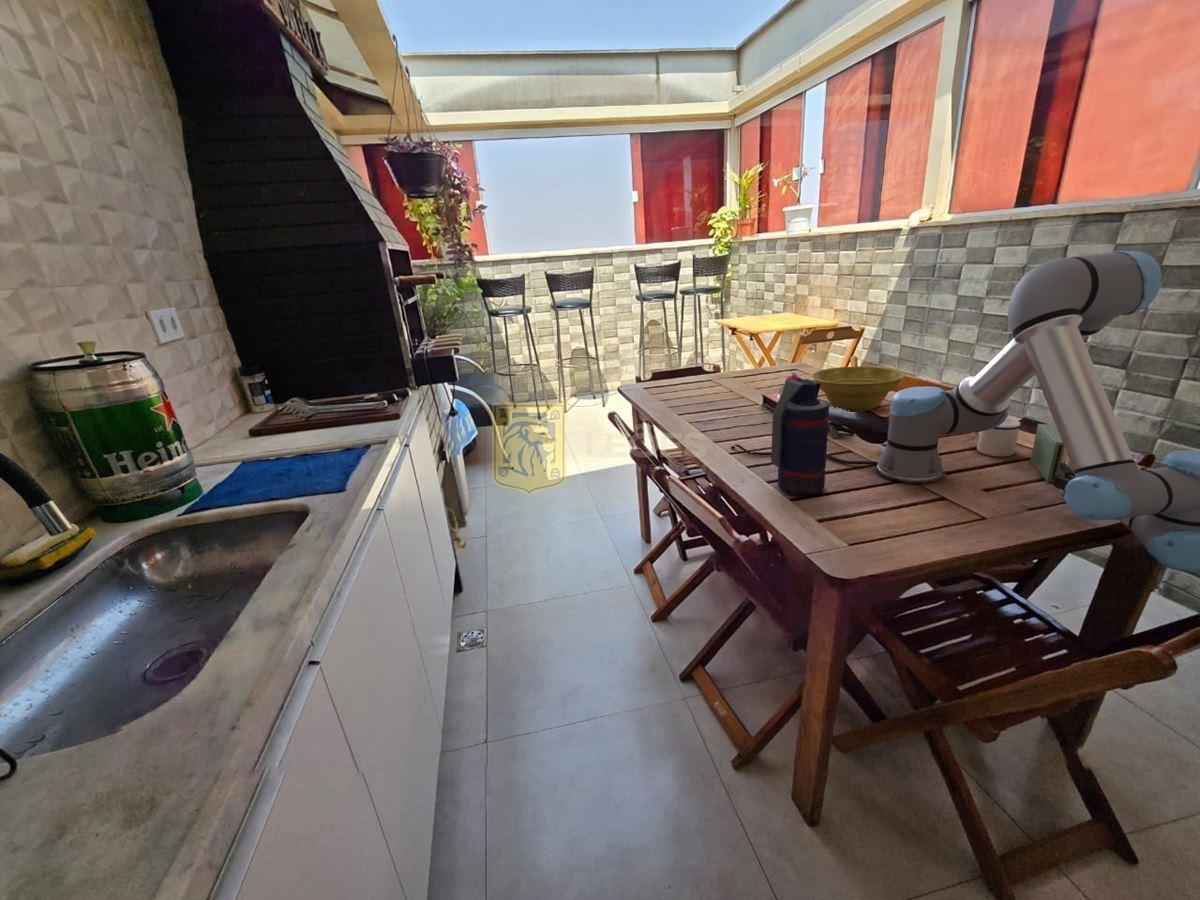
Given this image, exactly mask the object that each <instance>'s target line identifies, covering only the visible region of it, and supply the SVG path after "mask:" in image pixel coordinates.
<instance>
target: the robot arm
mask: <svg viewBox="0 0 1200 900" xmlns="http://www.w3.org/2000/svg"><path fill="white" fill-rule="evenodd" d="M1161 279H1162V271H1161V268H1160V265H1159V263H1158V262H1157V261H1156V260H1155V259H1154V258H1153V256H1151V255H1149V254H1148V253H1145V252H1143V251H1138V250H1126V251H1125V250H1114V251H1111V252H1110V251H1109V252H1103V253H1102V252H1101V253H1094V254H1087V255H1079V256H1069V257H1058V258H1052V259H1050V260H1047V261H1045V262H1043V263H1040V264H1038V265H1036V266H1034V267H1033V268H1032V269H1030V270H1029V271H1028V272H1026V273H1025V275H1024V276H1022V278H1020V279H1019V281H1018V282H1017V284H1016V285H1015V287H1014V289H1013V291H1012V293H1011V295H1010V299H1009V304H1008V311H1007V314H1008V315H1007V316H1008V324H1009V328H1010V331H1011V334H1012V337H1013V338H1012V340H1011V341H1009V343H1007V344H1006V345H1005V346H1004V347H1003V348H1002V349H1001V350H1000V351H999V352H998V353H997V354H996V356H995V357H993V358H992V360H990V362H988V363H987V364H986V365H985V366H984V367H983V368H982V369H981V371H979V372H978V373H977V374H975V375H969V376H967V377H965V378H964V379H963V380H961V382H959V383H958V385H956V387H955V388H953V389H950V390H949V389H948V390H944V389H943V388H941V387H939V386H930V385H924V386H912V387H907V388H904V389H901V390H899V391H897V392H896V393H895V394H894V395H893V396H892V398H891V403H890V407H889V417H888V418H889V419H888V429H887V439H886V446H885V447H884V450H883V451H882V452H881V453H882V454H881V456H879V459H878V461H874V460H847V459H842V458H838V457H836V456H834V455H830V454H828V453H826V459H830V460H833V461H835V462H838V463H841V464H846V465H869V466H871V465H872V466H876V472H877V473H878V474H879V475H880V476H881V477H884V478H885V479H887V480H891V481H894V482H897V483H898V482H899V483H904V484H914V485H915V484H916V485H917V484H920V485H921V484H922V485H923V484H931V483H935V482H937V481H939V480H940V479H942V476H943V466H942V461H943V458H942V457H940V454H939V450H938V447H939V439H940V436H948V435H954V434H964V433H972V432H977V433H979V432H981V431H986V430H989V429H993V428H995V427H997V426H999V425H1000V424H1002V423H1003V422H1004V421H1005V419H1006V418H1007V417H1009V412H1008V411H1010V409H1011V396H1012V395H1013V394H1015V393H1016V392H1017V391H1018V390H1020V389H1021V388H1022V387H1023V386H1024V385H1025V384H1027V383H1028V382H1029V381H1030V380H1031V379H1032V378H1033V377H1035V376H1036V378H1037V381H1038V383H1039V386H1040V389H1041V391H1042V394H1043V396H1044V399H1045V401H1046V404H1047V406H1048V409H1049V411H1050V414H1051V416H1052V419H1053V421H1054V425H1056V427H1057V429H1058V432H1059V434H1060V437H1061V439H1062V442H1063V444H1064V447H1065V449H1066V452H1067V454H1068V457H1069V460H1070V462H1071V465H1072V467H1073V470H1074V472H1073V471H1072V470H1071V469H1070V468H1069V467H1068V466H1067V465H1066V464H1065V463H1060V467H1059V471H1058V475H1055V476H1054V480H1053V482H1052V484H1051V485H1052V486H1053V487H1055V488H1057V489H1058V490H1060V489H1061V490H1063V491H1065V492H1064V493H1065V494H1064V500H1065V503H1066V505H1067V507H1068V508H1069V509H1070V510H1071V511H1072V512H1073V513H1074V514H1075V515H1077V516H1078V517H1080V518H1081V519H1085V520H1091V521H1102V520H1113V521H1117V520H1118V521H1119V522H1120V523H1121V524H1122V525H1124V526H1125V528H1126V529H1127V530H1129V532H1130V533H1131V534H1132V535H1133V536H1134V537H1135V538H1136V539H1137V540H1138V541H1139V542H1140V544H1141V545H1142V546H1143V547H1144V548H1145V550H1146V551H1147V553H1148V555H1150V556H1151V557H1153V558H1154V560H1157V561H1158V562H1159V563H1160V564H1161V565H1162V566H1163V567H1166V568H1168V569H1171V570H1173V571H1177V572H1183V573H1193V572H1194V573H1195V572H1200V450H1189V449H1188V450H1187V449H1182V450H1172V451H1170V452H1168V453H1167V454H1165V456H1164V458H1163V459H1162V461H1161V462H1160V467H1156V468H1147V467H1140V469H1139V467H1138V466H1137V465H1138V464H1137V465H1136V463H1135V461H1134V459H1135V458H1134V457H1133V455H1132V453H1131V450H1130V448H1129V446H1128V443H1127V441H1126V438H1125V435H1124V433H1123V430H1122V429H1121V426H1120V424H1119V422H1118V419H1117V417H1116V415H1115V413H1114V410H1113V407H1112V405H1111V403H1110V401H1109V398H1108V396H1107V393H1106V390H1105V388H1104V386H1103V383H1102V380H1101V379H1100V377H1099V374H1098V372H1097V369H1096V367H1095V365H1094V362H1093V360H1092V358H1091V355H1090V353H1089V350H1088V347H1087V345H1086V344H1085V341H1084V339H1083V338H1085V337H1089V336H1093V335H1096V334H1097V333H1099V332H1100V331H1101V330H1102V329H1104V328H1105V327H1106V326H1107V325H1109V324H1110V323H1111V322H1112V321H1114V320H1115V319H1116V318H1117V317H1119V316H1129V315H1133V314H1134V313H1139V312H1140V311H1142V310H1144V309H1146V308H1147V307H1149V306H1150V305H1151V304H1152V303H1153V302H1154V300H1155V299H1156V298H1157V296H1158V295H1159V292H1160V291H1161V286H1162V283H1161ZM734 445H735V446H737V447H734V446H733V445H732V446H730V449H731V450H733V449H736V448H738V447H739V448H738V449H740V450H741V449H742V450H741V451H742V452H744V453H746V454H748V455H753V456H771V451H753V450H752V451H751V450H748V449H746V448H744V446H742V445H740V444H738V443H737V444H736V443H735V444H734ZM743 450H744V451H743ZM746 451H748V452H746ZM751 452H753V453H751Z"/></svg>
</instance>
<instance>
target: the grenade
mask: <svg viewBox="0 0 1200 900" xmlns="http://www.w3.org/2000/svg"><path fill="white" fill-rule="evenodd" d="M820 385H821V383H818V382H815V380H812V379H808V378H801V379H794V380H787V381H786V383H785V382H784V385H782V386H781V387H780V389H779V392H778V393H779V398H778V401H777V403H776V405H775V407H774V410H773V411H772V430H771V451H770V452H771V455H770V463H771V464H773V465H774V466H775V467H776V468H777V485H778V487H780V488H781V489H783V490H785V491H787V492H789V494H790V495H791V496H793V497H801V495H810V494H815V493H818V494H819V493H822V491H823V490H824V488H825V486H826V485H825V484H826V467H827V458H826V454H828V453H827V450H828V435H829V434H828V433H829V432H828V431H829V416H830V415H829V414H830V402H829V401H826V400H824V399H821V398H819V397H818V396H819V392H820V390H821V389H820Z"/></svg>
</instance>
